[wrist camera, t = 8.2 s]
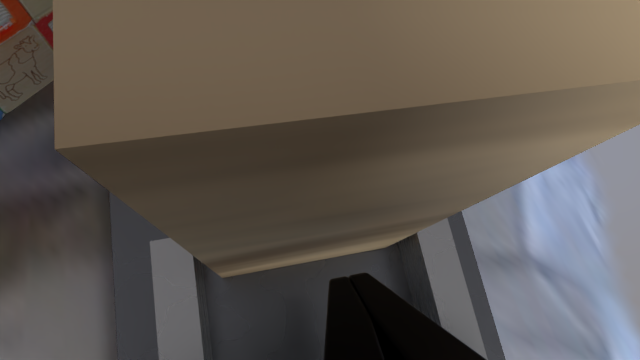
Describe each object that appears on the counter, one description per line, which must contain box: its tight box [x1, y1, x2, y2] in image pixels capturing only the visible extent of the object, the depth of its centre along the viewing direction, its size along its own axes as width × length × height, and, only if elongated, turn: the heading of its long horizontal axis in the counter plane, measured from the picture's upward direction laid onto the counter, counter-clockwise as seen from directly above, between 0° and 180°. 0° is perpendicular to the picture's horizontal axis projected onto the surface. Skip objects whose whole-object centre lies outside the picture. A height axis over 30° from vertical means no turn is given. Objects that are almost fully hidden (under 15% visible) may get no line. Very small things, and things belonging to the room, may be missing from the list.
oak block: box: [53, 0, 640, 278], centre depth 10 cm, size 6×6×12 cm
